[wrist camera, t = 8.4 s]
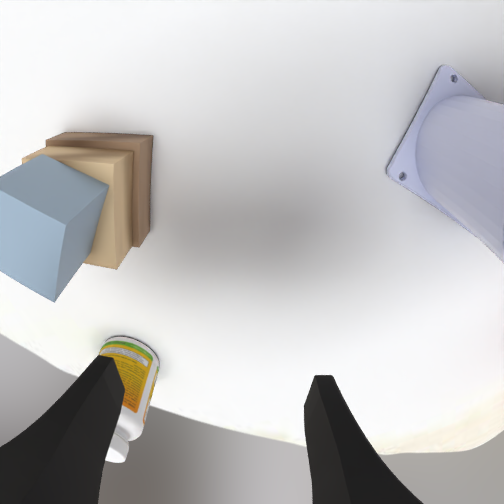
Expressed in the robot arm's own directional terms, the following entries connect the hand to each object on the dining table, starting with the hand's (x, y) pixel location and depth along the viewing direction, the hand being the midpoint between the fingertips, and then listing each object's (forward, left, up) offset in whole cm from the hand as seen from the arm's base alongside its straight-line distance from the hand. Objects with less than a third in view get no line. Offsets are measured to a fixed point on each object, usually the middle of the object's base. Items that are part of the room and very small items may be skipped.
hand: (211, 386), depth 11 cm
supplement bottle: (+4, +14, -11) cm, 18 cm away
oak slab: (+9, -1, -8) cm, 12 cm away
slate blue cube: (+9, -1, -6) cm, 11 cm away
